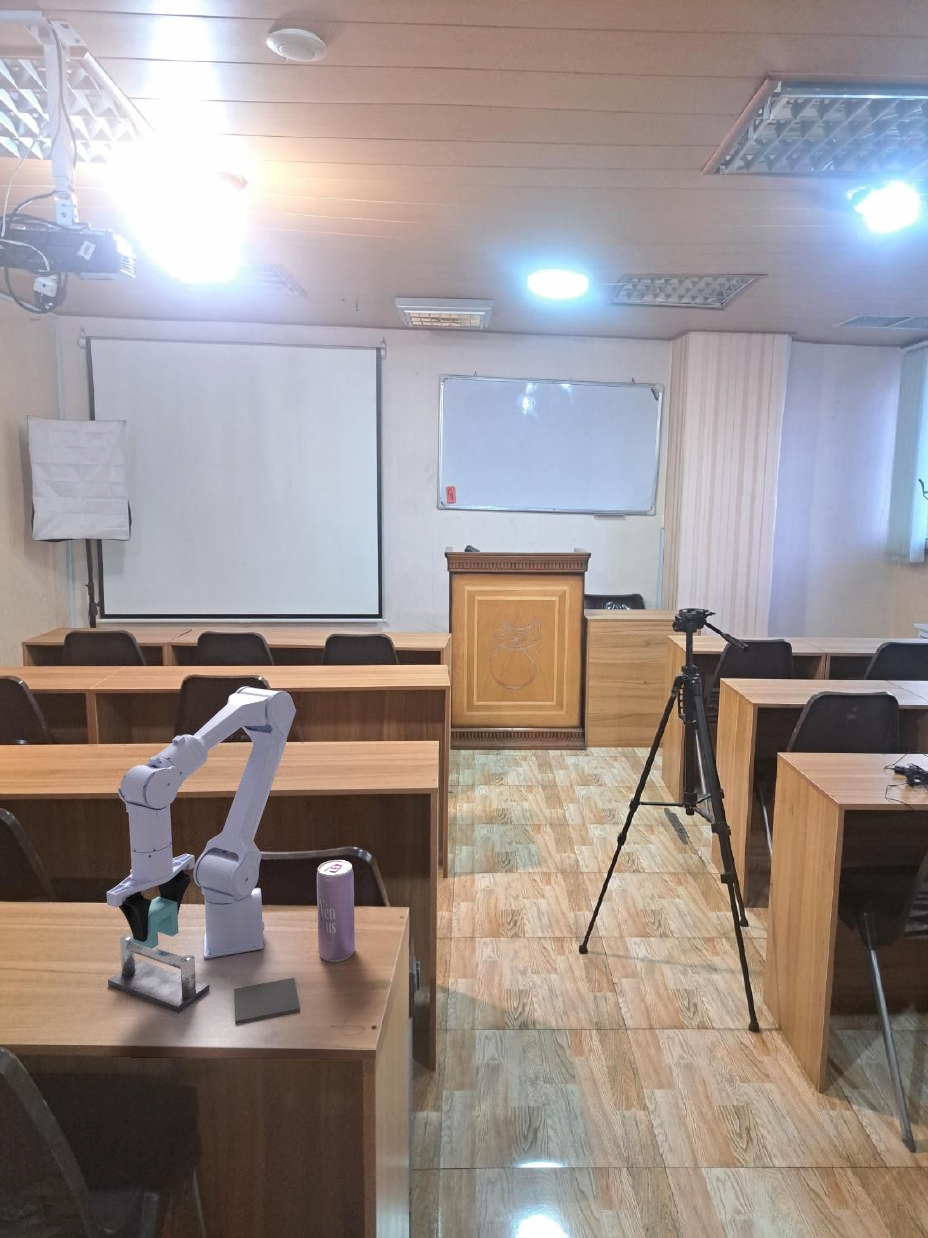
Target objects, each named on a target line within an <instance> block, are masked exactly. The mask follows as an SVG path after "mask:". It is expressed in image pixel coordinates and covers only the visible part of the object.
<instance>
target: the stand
mask: <svg viewBox="0 0 928 1238" xmlns="http://www.w3.org/2000/svg"><path fill="white" fill-rule="evenodd" d="M119 943H120V944H119V947H120V960H121V961H120V962H121V963H120V964H121V971H120V972H118V973H116V974H115V975H113V976H112V977H110V978H109V979H107V986H108V987H110V988H113V989H115V990H118V991H120V992H123V993H126V994H128V995H130V996H134V997H136V998H138V999H140V1000H141V999H142V1000H143V1001H146V1002H149V1003H150V1004H151V1003H152V1004H154V1005H156V1006H159V1007H162V1008H164V1009H167V1010H168V1011H169V1010H170V1011H172V1012H174V1013H177V1014H179V1013H181V1012H182V1011H183V1010H185V1009H187V1007H189V1006H190V1005H192V1004H193V1003H194V1002H196V1001H197V1000H199V999H200V998H202V997H203V996H204V995H206V993H208V992H210V984H209V983H207V982H202V981H200V980H198V979H197V978H196V962H195V959H196V957H195V955H192V954H188V955H185V956H181V955H178V954H175V953H173V952H169V951H167V950H163V949H160V948H157V947H154V948H153V949H151V948H148V947H145V946H142V945H139V944H136V943H133V934H126V935H124V936H122V937H120V938H119ZM136 954H137V955H140V956H142V957H145V958H147V959H150V960H154V961H157V962H159V963H162V964H164V965H168V966H171V967H173V968H176V969H179V970H180V973H178V972H176V971H172V970H169V969H167V968H164V967H161V966H157V965H155V964H153V963H150V962H147V961H144V960H141V959H140V960H138V961H137V962H136Z"/></svg>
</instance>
